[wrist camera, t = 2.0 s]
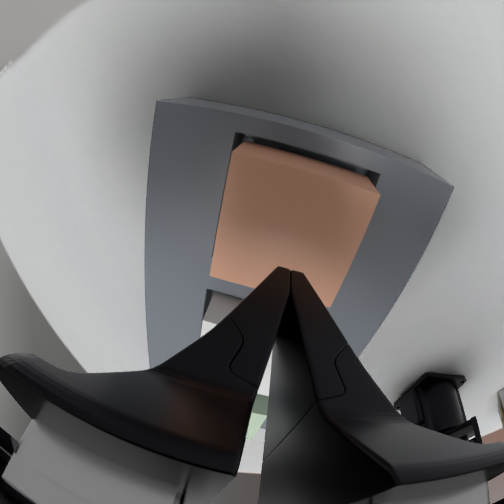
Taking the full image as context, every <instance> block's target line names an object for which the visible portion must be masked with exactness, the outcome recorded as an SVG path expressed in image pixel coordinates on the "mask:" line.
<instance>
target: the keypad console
mask: <svg viewBox="0 0 504 504" xmlns="http://www.w3.org/2000/svg"><path fill="white" fill-rule="evenodd" d="M244 141H247V142H252V143H256V144H260V145H264V146H268V147H272V148H276V149H280V150H284V151H287V152H291V153H295V154H298V155H302V156H305V157H309V158H312V159H316V160H319V161H322V162H325V163H329V164H332V165H335V166H338V167H341V168H344V169H347V170H350V171H353V172H356V173H359V174H362V175H365V176H367V177H368V178H369V180H370V181H371V182H372V184H373V185H374V186H375V188H376V189H377V191H378V192H379V193H380V198H379V200H378V203H377V205H376V208H375V210H374V213H373V215H372V218H371V220H370V222H369V225H368V227H367V230H366V232H365V234H364V237H363V239H362V241H361V243H360V246H359V248H358V250H357V252H356V255H355V257H354V259H353V261H352V263H351V266H350V268H349V270H348V272H347V274H346V276H345V278H344V280H343V282H342V285H341V287H340V289H339V291H338V293H337V295H336V297H335V299H334V301H333V303H332V305H331V307H330V308H329V307H326V308H327V310H328V312H329V313H330V315H331V316H332V318H333V319H334V321H335V323H336V324H337V326H338V327H339V329H340V331H341V332H342V334H343V335H344V337H345V339H346V340H347V342H348V344H349V345H350V346H351V348H352V350H353V351H354V353H355V354H356V356H357V357H359V356H360V354H361V353H362V351H363V350H364V349H365V347H366V346H367V344H368V343H369V342H370V340H371V339H372V337H373V336H374V334H375V333H376V331H377V330H378V329H379V327H380V326H381V324H382V322H383V321H384V319H385V318H386V316H387V315H388V313H389V312H390V310H391V309H392V307H393V305H394V304H395V302H396V301H397V299H398V297H399V296H400V294H401V292H402V291H403V289H404V287H405V286H406V284H407V282H408V280H409V279H410V277H411V275H412V273H413V272H414V270H415V268H416V266H417V264H418V262H419V261H420V259H421V257H422V255H423V253H424V251H425V249H426V247H427V245H428V243H429V241H430V239H431V237H432V235H433V233H434V231H435V229H436V227H437V225H438V223H439V221H440V219H441V216H442V214H443V212H444V210H445V208H446V205H447V203H448V201H449V198H450V196H451V194H452V191H453V189H454V187H453V186H452V185H451V184H449V183H448V182H447V181H445V180H444V179H443V178H441V177H440V176H439V175H437V174H436V173H434V172H433V171H432V170H430V169H429V168H427V167H426V166H424V165H422V164H420V163H418V162H416V161H413V160H411V159H409V158H406V157H404V156H402V155H399V154H397V153H394V152H392V151H389V150H387V149H384V148H382V147H379V146H377V145H374V144H371V143H369V142H366V141H363V140H360V139H357V138H355V137H352V136H349V135H346V134H343V133H340V132H337V131H334V130H330V129H327V128H324V127H321V126H317V125H314V124H311V123H307V122H304V121H300V120H296V119H293V118H289V117H285V116H281V115H277V114H273V113H269V112H264V111H260V110H255V109H251V108H246V107H241V106H236V105H231V104H225V103H220V102H214V101H208V100H201V99H194V98H179V99H169V100H160V101H156V108H155V115H154V122H153V130H152V139H151V148H150V158H149V169H148V182H147V197H146V217H145V305H146V325H147V340H148V353H149V364H150V368H153V367H155V366H157V365H159V364H161V363H163V362H164V361H166V360H168V359H169V358H171V357H172V356H174V355H175V354H177V353H178V352H180V351H181V350H183V349H184V348H186V347H187V346H189V345H190V344H192V343H193V342H195V341H196V340H198V339H199V338H200V336H201V329H202V322H203V318H204V316H205V313H206V311H207V308H208V306H209V304H210V301H211V299H212V296H213V294H214V292H215V291H217V292H221V293H225V294H228V295H232V296H235V297H239V298H243V299H245V298H246V297H247V296H248V295H249V294H250V293H251V292H252V291H253V290H254V289H255V288H251V287H247V286H244V285H240V284H236V283H233V282H229V281H226V280H222V279H218V278H215V277H211V276H210V269H211V263H212V257H213V251H214V245H215V240H216V234H217V228H218V223H219V217H220V211H221V206H222V201H223V195H224V190H225V185H226V180H227V174H228V169H229V164H230V159H231V154H232V151H234V150H235V149H236V148H237V147H238V146H239V145H240V144H242V143H243V142H244ZM266 422H267V417H266V419H265V421H264V422H263V424H262V425H261V427H260V428H263V429H266Z"/></svg>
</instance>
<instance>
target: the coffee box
mask: <svg viewBox="0 0 504 504" xmlns="http://www.w3.org/2000/svg"><path fill="white" fill-rule="evenodd" d="M498 412H499V415H500V419H501V422H502V426H503V429H504V388H503V389H502V390H500V391H499V392H498Z"/></svg>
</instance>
